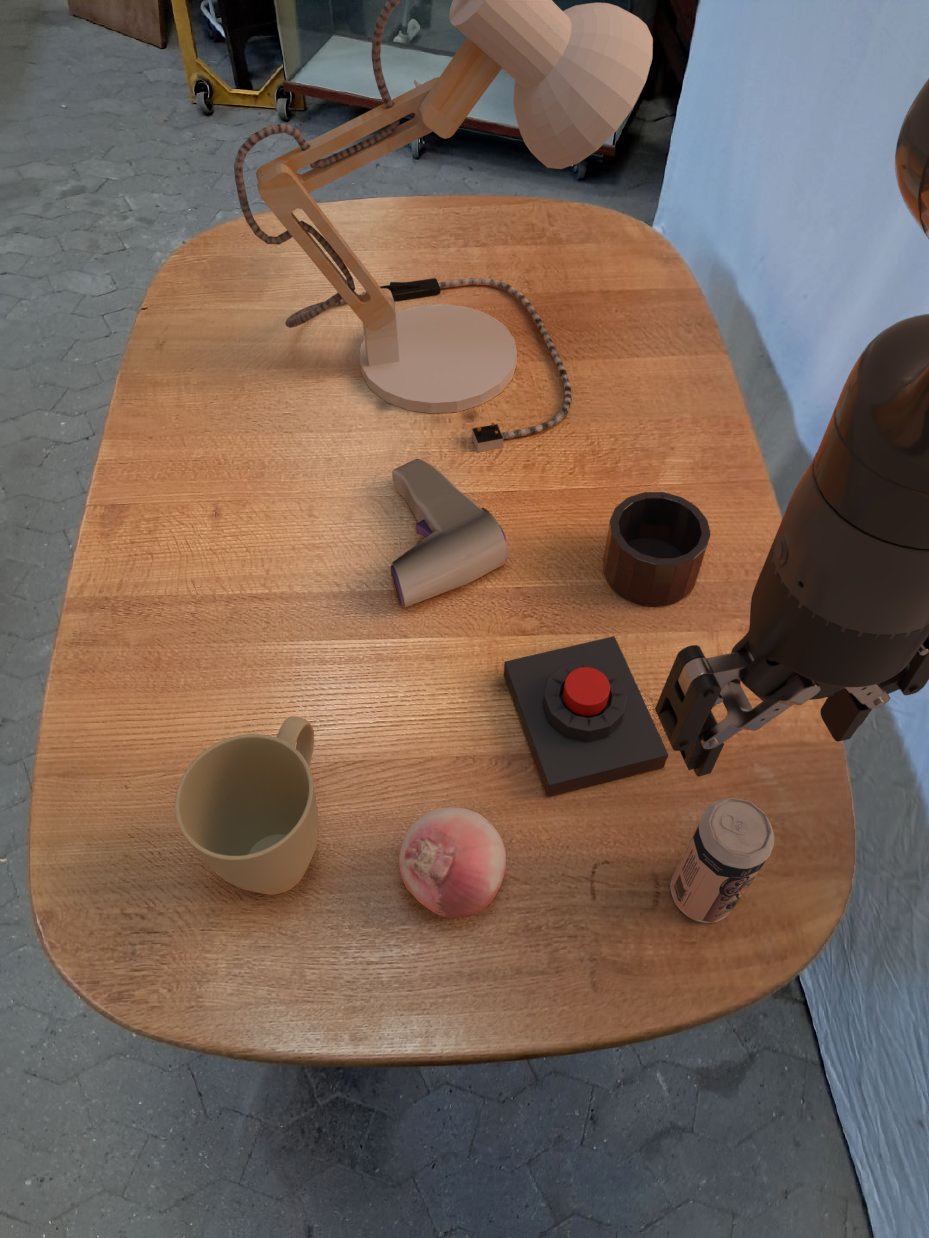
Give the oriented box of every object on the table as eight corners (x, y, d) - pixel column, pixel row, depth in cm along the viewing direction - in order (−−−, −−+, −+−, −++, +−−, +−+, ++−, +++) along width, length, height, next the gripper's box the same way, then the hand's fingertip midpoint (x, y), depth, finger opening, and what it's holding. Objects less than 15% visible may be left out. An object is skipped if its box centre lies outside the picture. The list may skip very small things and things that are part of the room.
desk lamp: (646, 421, 98) (730, -1, 66) (298, 484, 93) (206, 58, 61) (559, 265, 116) (593, -128, 84) (264, 310, 111) (178, -91, 78)
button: (614, 710, 73) (616, 699, 71) (571, 721, 72) (573, 709, 71) (598, 674, 75) (600, 662, 73) (556, 684, 74) (558, 672, 73)
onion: (381, 865, 69) (373, 826, 63) (462, 807, 71) (461, 765, 66) (445, 950, 65) (442, 917, 59) (527, 886, 68) (533, 848, 62)
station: (664, 767, 73) (672, 743, 70) (546, 797, 72) (550, 774, 69) (611, 650, 80) (617, 623, 77) (503, 675, 79) (504, 649, 76)
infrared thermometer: (430, 480, 94) (516, 565, 86) (328, 530, 90) (408, 623, 82) (427, 446, 91) (516, 530, 83) (320, 495, 87) (403, 590, 79)
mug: (360, 894, 67) (342, 828, 58) (228, 940, 65) (186, 879, 56) (324, 769, 74) (302, 690, 64) (202, 808, 72) (160, 732, 62)
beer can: (721, 937, 65) (764, 875, 56) (659, 905, 67) (691, 840, 57) (743, 880, 68) (788, 812, 58) (683, 851, 69) (717, 779, 60)
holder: (715, 569, 86) (729, 526, 81) (657, 623, 82) (669, 581, 77) (641, 521, 90) (651, 477, 85) (583, 570, 86) (590, 527, 81)
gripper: (749, 666, 35) (674, 834, 48) (1066, 592, 37) (912, 772, 51) (674, 528, 40) (624, 716, 53) (962, 468, 42) (845, 664, 55)
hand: (765, 743), depth 52 cm, fingers open, 8 cm apart
